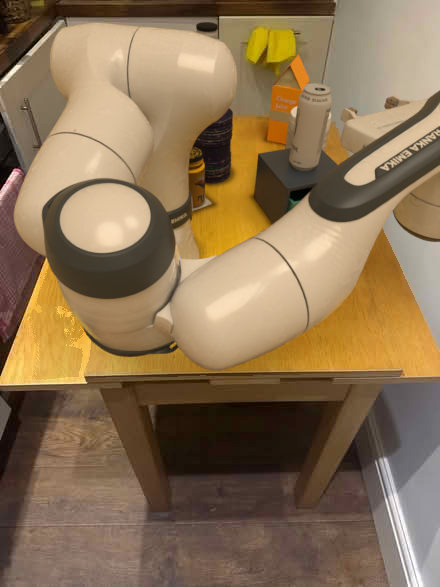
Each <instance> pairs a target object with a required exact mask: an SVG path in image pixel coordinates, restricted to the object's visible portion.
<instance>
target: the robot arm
mask: <svg viewBox="0 0 440 587" xmlns="http://www.w3.org/2000/svg"><path fill="white" fill-rule="evenodd" d="M219 40H220V39H219ZM219 40H216V39H213V38H211V37H208V36H205V35H202V34H199V33H196V32H195V31H192V30H183V29H175V28H164V27H153V26H137V25H130V24H129V25H127V24H118V23H106V22H88V23H81V24H75V25H69V26H65V27H62V28H60V30H59V31H58V32H57V33H56V35H55V36H54V38H53V41H52V43H51V47H50V52H49V68H50V74H51V77H52V79H53V83H54V85H55V86H56V88H57V90H58V92H59V93H60V95H61V96H62V97H63V98H64V99H65V100H66V101H67V102H66V105H65V107H64V109H63V110H62V112H61V114H60V116H59V118H58V119H57V121H56V123H55V124H54V126H53V128H52V129H51V130H50V132H49V134H48V135H47V137H46V138H45V140H44V141H43V143H42V145H41V147H40V148H39V150H38V151H37V153H36V155H35V157H34V158H33V160H32V162H31V164H30V166H29V168H28V170H27V173H26V175H25V177H24V179H23V182H22V184H21V187H20V189H19V192H18V194H17V198H16V201H15V204H14V208H13V210H14V211H13V222H14V225H15V229H16V231H17V233H18V235H19V236H20V238H21V240H22V241H23V242H25V244H26V245H27V246H28V247H29V248H31V249H32V250H33V251H35V253H37V254H38V255H41V256H43V257H45V258H46V260H47V263H48V266H49V269H50V270H51V272H52V274H53V275H54V276H55V278H56V280H57V284H58V286H59V289H60V292H61V295H62V297H63V300H64V301H65V303H66V306H67V307H68V310H69V311H70V312H71V314H72V315H73V316H74V317H75V318H76V319H77V321H78V322H79V323H80V325H81V326H82V329H83V331H84V333H85V335H86V336H87V337H88V339H89V340H90V341H91V342H92V343H93V344H94V345H96V346H97V347H98V348H99V349H101V350H103V351H104V352H106V353H108V354H111V355H113V356H118V357H123V358H133V357H134V358H135V357H141V356H142V357H143V356H147V355H166V354H172V353H174V352H175V351H177V349H179V350H180V351H181V352H182V354H183V355H184V356H185V357H186V358H187V359H188V360H190V361H191V362H192V363H194V364H195V365H197V366H198V367H200V368H202V369H204V370H208V371H214V372H218V371H219V372H220V371H225V370H228V369H232V368H234V367H238V366H240V365H243V364H245V363H248V362H250V361H252V360H255V359H257V358H260V357H262V356H265V355H266V354H268V353H270V352H273V351H275V350H277V349H278V348H280V347H283V346H284V345H286V344H289V343H290V342H291V341H294V339H295V340H296V338H298V337H300V336H302V335H303V334H306V333H307V332H309V331H310V330H312V329H313V328H315V327H316V326H318V325H319V324H321V323H322V322H324V321H325V320H326V319H327V318H329V317H330V316H331V315H332V314H333V313H334V312H335V311H336V310H337V309H338V308H339V307H340V306H341V305H342V304H343V303H344V302H345V301H346V300H347V299H348V298H349V296H350V295H351V294H352V292H353V290H354V289H355V287H356V285H357V282H358V281H359V279H360V276H361V274H362V272H363V270H364V268H365V265H366V263H367V260H368V258H369V255H370V254H371V252H372V249H373V247H374V245H375V243H376V241H377V239H378V236H379V234H380V233H381V231H382V229H383V227H384V226H385V224H386V222H387V220H389V217H390V216H391V214H393V217H394V219H395V221H396V222H397V224H398V225H399V226H400V227H401V228H402V229H403V230H404V231H405V232H407V233H408V234H409V235H411V236H413V237H415V238H416V239H420V240H422V241H425V242H430V243H440V90H438V91H436V92H434V93H433V94H432V95H431V96H430V97H428V98H424V99H421V100H417V101H416V100H413V99H408V98H407V99H405V98H401V97H399V96H397V95H393V96H389V97H387V98H386V99H385V103H384V110H380V111H376V112H373V113H369V114H366V115H358V110H357V109H356V108H354V107H352V106H350V107H346V108H343V109H342V110H341V114H340V120H341V121H342V122H344V125H343V129H342V132H341V136H340V146H341V147H342V148H343V149H345V150H346V151H348V152H350V153H352V155H350V156H349V157H347V158H346V159H344V160H343V161H342V162H340V163H338V165H337V166H336V167H335V168H333V169H332V170H331V171H330V172H328V173H327V174H326V175H325V176H324V177H323V178H322V179H321V180H320V181H319V182H318V183H317V184H316V185H315V186H314V187H313V188H312V190H311V191H310V192H309V193H308V194H307V195H306V196H305V197H304V198H303V199H302V200H301V201H300V202H299V203H298V204H297V205H296V206H295V207H294V208H293V209H291V210H290V211H289V212H288V213H287V214H285V215H284V216H283V217H282V218H280V219H279V220H278V221H276V222H275V223H274V224H273V223H272V224H271V225H269V226H268V227H266V228H265V229H263V230H261V231H260V232H258V233H257V234H255V235H253V236H251V237H249V238H248V239H245V240H243V241H241V242H240V243H238V244H235V245H234V246H232V247H230V248H228V249H227V250H225V251H224V252H222V253H220V254H215V255H212V256H209V257H204V258H200V256H201V253H200V249H199V247H198V245H197V241H196V238H195V234H194V230H193V224H192V221H193V213H194V210H193V203H192V196H191V192H190V191H189V158H190V153H191V149H192V147H193V145H194V143H195V141H196V139H197V138H198V136H199V135H200V134H201V133H202V131H203V130H204V129H205V128H207V127H208V126H209V125H211V124H212V123H214V122H215V121H217V120H219V119H220V118H221V117H222V116H223V115H224V114H225V113H226V112H227V110H228V109H229V108H230V107H231V106H232V105H233V102H234V99H235V96H236V93H237V90H238V89H237V88H238V70H237V64H236V61H235V58H234V56H233V54H232V52H231V50H230V48H229V47H228V46H227V44H226V43H225V42H223V41H221V40H220V41H219ZM174 343H175V345H174V346H173V347H171V346H172V345H173V344H174Z"/></svg>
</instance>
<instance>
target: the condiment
mask: <svg viewBox="0 0 440 587" xmlns="http://www.w3.org/2000/svg"><path fill="white" fill-rule="evenodd" d="M189 191H190V192H191V196H192V203H193V211H197V210H199V209H202V208H205V207H207V206H210V205H212V204H213V203H212V201H211V200H209V199H208V198H207V197H206V183H205V164H204V162H203V153H202V151H201V150H200V149H198V148H195V147H192V149H191V153H190V158H189Z"/></svg>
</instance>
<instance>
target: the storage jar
mask: <svg viewBox="0 0 440 587" xmlns="http://www.w3.org/2000/svg"><path fill="white" fill-rule="evenodd" d="M233 118H234V112H233V110H232V109H231V108H230V107H229V109H228V110H227V112H226V113H225V114H224V115H223V116H222V117H221V118H220V119H219V120H217V121H215V122H214V123H212V124H211V125H209V126H208V127H207V128H205V129H204V130H203V131H202V133H201V134H200V135H199V136H198V138H197V139H196V141H195V143H194V145H193V147H195V148H198V149H200V150H201V151H202V153H203V162H204V164H205V184H210V185H213V184H219V183H223V182H225V181H226V180H228V179H229V178H230V176H231V167H232V150H231V143H232V142H231V141H232V138H233V130H234V124H233V121H234V120H233Z"/></svg>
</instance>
